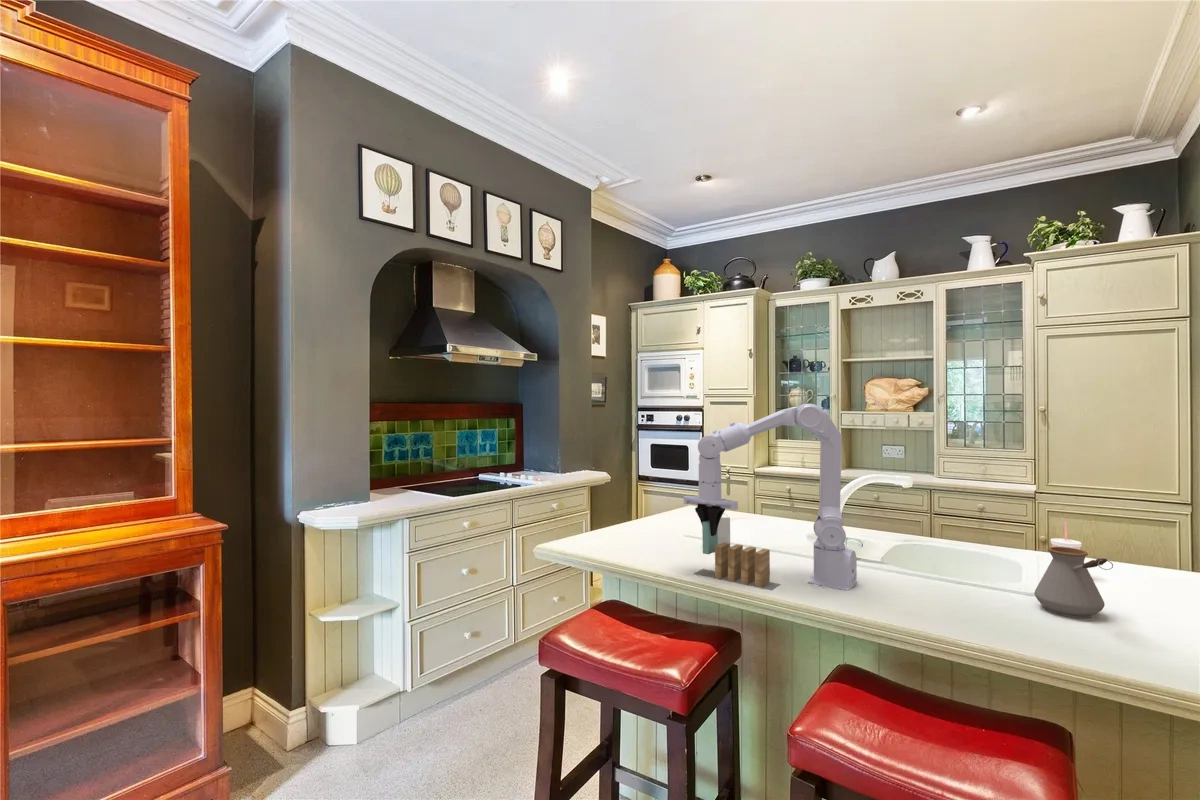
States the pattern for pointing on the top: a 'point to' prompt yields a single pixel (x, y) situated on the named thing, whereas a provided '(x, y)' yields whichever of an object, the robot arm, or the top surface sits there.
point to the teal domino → (708, 538)
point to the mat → (712, 575)
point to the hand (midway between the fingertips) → (710, 534)
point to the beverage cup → (1066, 541)
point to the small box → (724, 529)
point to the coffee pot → (1070, 584)
